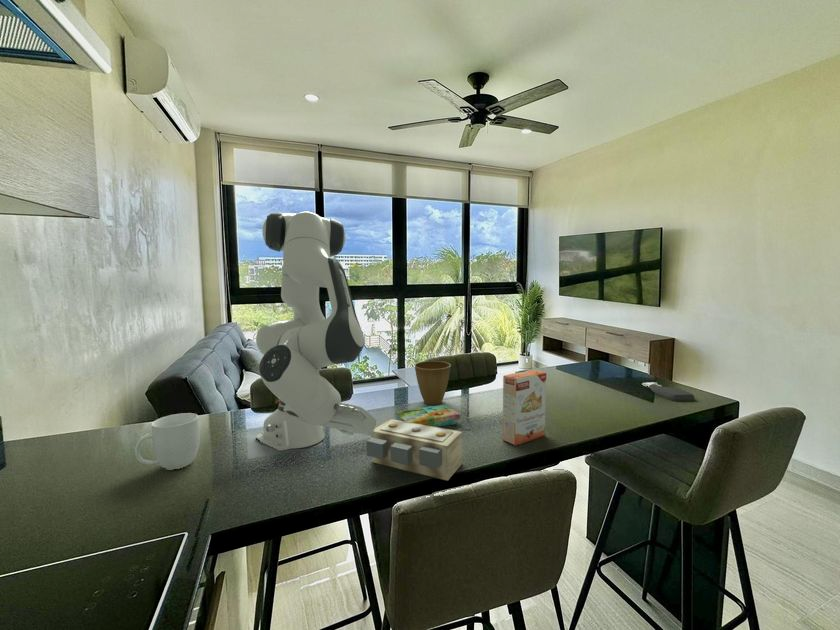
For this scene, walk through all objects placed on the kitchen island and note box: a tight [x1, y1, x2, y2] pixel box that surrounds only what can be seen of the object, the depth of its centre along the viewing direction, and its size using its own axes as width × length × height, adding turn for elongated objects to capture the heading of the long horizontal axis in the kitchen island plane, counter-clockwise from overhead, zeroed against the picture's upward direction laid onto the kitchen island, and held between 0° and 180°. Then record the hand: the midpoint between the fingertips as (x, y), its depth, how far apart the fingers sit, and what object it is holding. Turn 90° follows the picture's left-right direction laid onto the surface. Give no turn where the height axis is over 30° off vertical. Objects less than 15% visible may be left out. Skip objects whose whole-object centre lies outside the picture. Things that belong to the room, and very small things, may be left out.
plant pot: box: [414, 360, 452, 406], centre depth 157 cm, size 15×15×16 cm
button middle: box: [391, 443, 413, 465], centre depth 97 cm, size 5×2×4 cm, turn 62°
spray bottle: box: [641, 381, 695, 402], centre depth 166 cm, size 3×11×24 cm
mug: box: [134, 412, 200, 468], centre depth 104 cm, size 15×11×13 cm
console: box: [370, 418, 463, 482], centre depth 104 cm, size 23×10×10 cm, turn 62°
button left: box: [366, 437, 388, 459], centre depth 100 cm, size 5×2×4 cm, turn 62°
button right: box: [419, 446, 442, 469], centre depth 95 cm, size 5×2×4 cm, turn 62°
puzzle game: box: [395, 403, 462, 428], centre depth 134 cm, size 12×5×20 cm
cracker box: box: [501, 369, 547, 447], centre depth 119 cm, size 14×6×21 cm, turn 123°
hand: (349, 431), depth 90 cm, fingers closed
